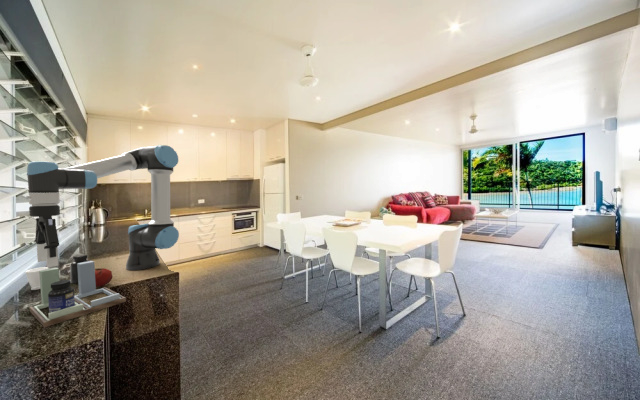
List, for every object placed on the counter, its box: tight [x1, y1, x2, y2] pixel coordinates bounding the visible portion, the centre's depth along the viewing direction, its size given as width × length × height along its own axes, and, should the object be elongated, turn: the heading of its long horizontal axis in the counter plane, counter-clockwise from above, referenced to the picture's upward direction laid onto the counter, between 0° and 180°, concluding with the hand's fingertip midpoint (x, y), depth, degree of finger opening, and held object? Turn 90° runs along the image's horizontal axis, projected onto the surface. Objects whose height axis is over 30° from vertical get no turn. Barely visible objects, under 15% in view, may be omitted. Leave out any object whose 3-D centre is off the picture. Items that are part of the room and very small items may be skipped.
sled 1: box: [33, 266, 85, 321], centre depth 89 cm, size 9×21×13 cm, turn 57°
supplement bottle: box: [69, 253, 90, 284], centre depth 119 cm, size 7×7×12 cm
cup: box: [25, 266, 49, 291], centre depth 113 cm, size 7×10×8 cm
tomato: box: [95, 267, 113, 288], centre depth 112 cm, size 9×9×8 cm
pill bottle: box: [48, 279, 75, 313], centre depth 86 cm, size 6×6×11 cm
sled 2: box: [74, 260, 121, 308], centre depth 98 cm, size 9×21×13 cm, turn 57°
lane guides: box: [29, 286, 127, 328], centre depth 93 cm, size 21×20×2 cm
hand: (47, 263), depth 93 cm, fingers open, 13 cm apart
